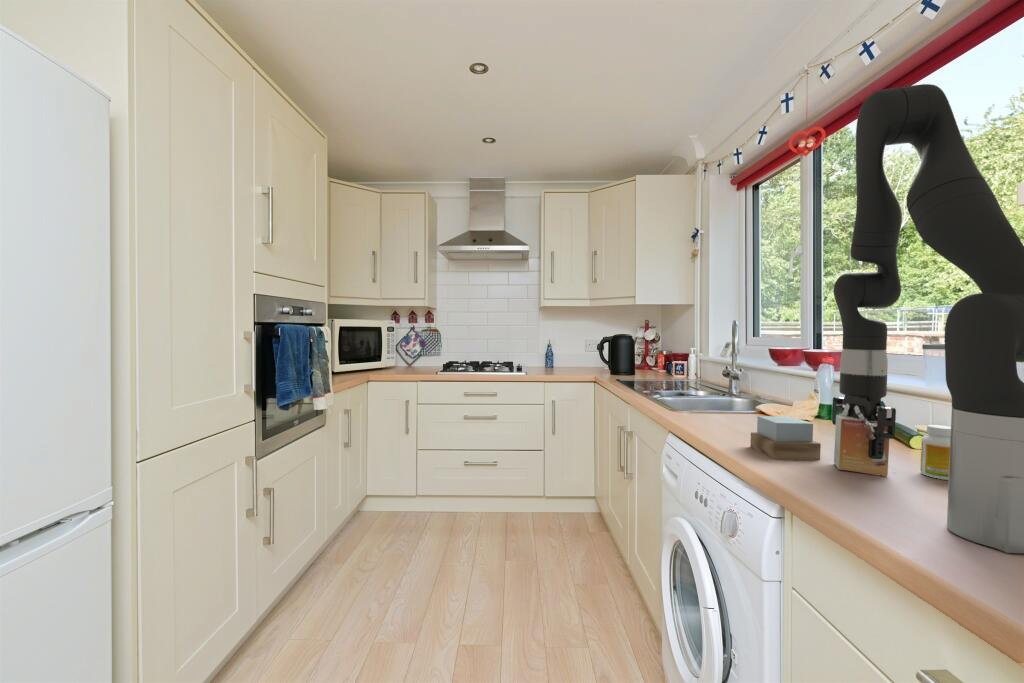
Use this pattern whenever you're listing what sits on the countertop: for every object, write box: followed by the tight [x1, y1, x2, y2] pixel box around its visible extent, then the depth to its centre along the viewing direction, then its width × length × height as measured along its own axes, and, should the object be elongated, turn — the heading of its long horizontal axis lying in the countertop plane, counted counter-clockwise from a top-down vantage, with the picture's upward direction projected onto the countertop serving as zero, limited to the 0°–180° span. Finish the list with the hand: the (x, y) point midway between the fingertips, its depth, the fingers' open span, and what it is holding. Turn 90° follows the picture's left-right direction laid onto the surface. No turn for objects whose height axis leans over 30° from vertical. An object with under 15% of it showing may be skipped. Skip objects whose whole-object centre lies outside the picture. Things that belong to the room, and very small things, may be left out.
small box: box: [833, 414, 890, 477], centre depth 91 cm, size 8×6×10 cm
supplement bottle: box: [920, 424, 951, 481], centre depth 88 cm, size 5×5×10 cm
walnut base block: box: [750, 431, 822, 461], centre depth 103 cm, size 10×10×4 cm
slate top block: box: [756, 415, 814, 442], centre depth 104 cm, size 8×8×4 cm
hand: (860, 452), depth 91 cm, fingers closed on small box, 7 cm apart
